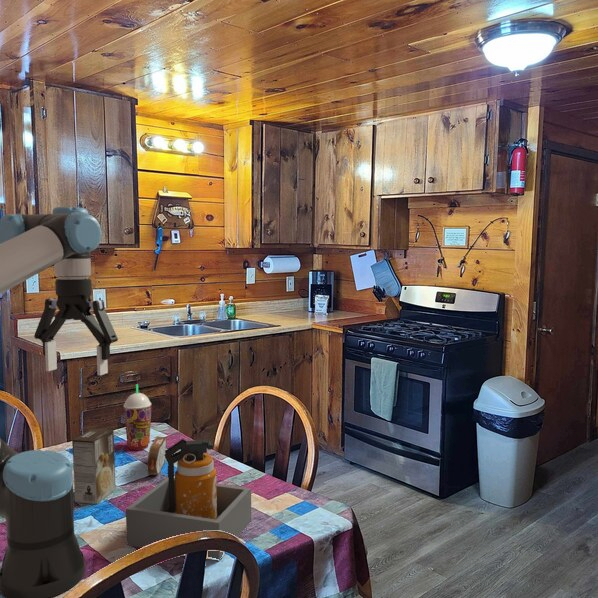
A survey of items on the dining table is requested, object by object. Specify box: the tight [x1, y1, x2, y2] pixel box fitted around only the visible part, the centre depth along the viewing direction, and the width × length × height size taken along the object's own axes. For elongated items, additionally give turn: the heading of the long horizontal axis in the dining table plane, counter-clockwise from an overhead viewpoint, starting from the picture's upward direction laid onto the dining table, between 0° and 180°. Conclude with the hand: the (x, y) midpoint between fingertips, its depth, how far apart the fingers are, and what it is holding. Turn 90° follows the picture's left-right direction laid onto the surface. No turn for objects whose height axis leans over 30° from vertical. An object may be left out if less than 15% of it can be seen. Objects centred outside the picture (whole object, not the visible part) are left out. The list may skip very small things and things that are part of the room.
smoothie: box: [123, 383, 152, 451], centre depth 182 cm, size 8×8×20 cm
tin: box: [146, 436, 168, 476], centre depth 165 cm, size 15×3×8 cm, turn 2°
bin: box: [125, 476, 252, 561], centre depth 129 cm, size 17×21×8 cm
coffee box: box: [71, 428, 117, 505], centre depth 147 cm, size 9×6×16 cm
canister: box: [164, 438, 217, 520], centre depth 128 cm, size 9×11×20 cm
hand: (76, 372), depth 131 cm, fingers open, 13 cm apart
